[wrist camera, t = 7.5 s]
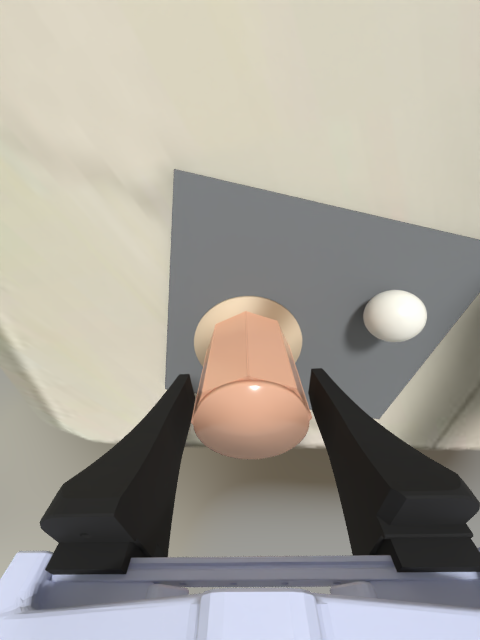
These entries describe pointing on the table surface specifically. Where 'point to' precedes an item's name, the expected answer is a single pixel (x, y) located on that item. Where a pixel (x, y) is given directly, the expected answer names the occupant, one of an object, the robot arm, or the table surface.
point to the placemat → (313, 280)
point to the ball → (395, 316)
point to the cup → (250, 391)
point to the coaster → (253, 306)
